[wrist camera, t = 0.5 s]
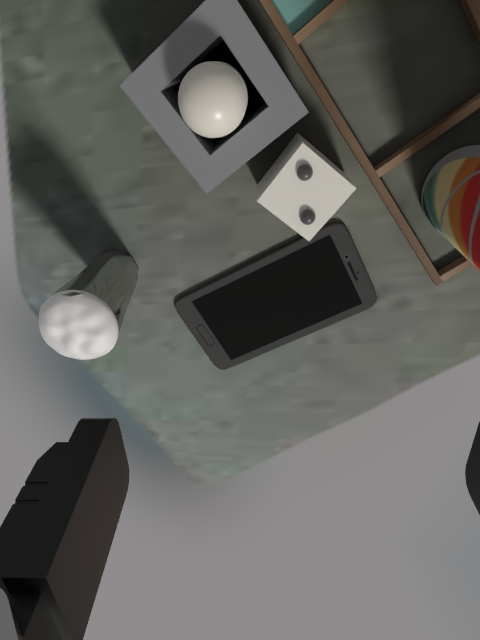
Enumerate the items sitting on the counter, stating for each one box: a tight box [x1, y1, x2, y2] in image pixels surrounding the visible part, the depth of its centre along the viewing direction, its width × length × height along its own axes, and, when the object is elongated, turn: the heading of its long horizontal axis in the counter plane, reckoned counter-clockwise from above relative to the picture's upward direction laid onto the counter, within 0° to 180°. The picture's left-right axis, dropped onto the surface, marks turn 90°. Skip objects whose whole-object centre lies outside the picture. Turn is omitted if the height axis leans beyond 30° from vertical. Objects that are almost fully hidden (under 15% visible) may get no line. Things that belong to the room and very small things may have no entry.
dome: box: [178, 61, 248, 138], centre depth 23 cm, size 3×3×5 cm
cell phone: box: [175, 221, 377, 370], centre depth 34 cm, size 7×14×1 cm, turn 119°
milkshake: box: [39, 250, 138, 360], centre depth 28 cm, size 4×5×10 cm
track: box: [258, 0, 480, 286], centre depth 25 cm, size 9×28×1 cm, turn 38°
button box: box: [120, 0, 309, 194], centre depth 25 cm, size 7×7×4 cm
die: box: [257, 133, 356, 241], centre depth 27 cm, size 4×4×5 cm
